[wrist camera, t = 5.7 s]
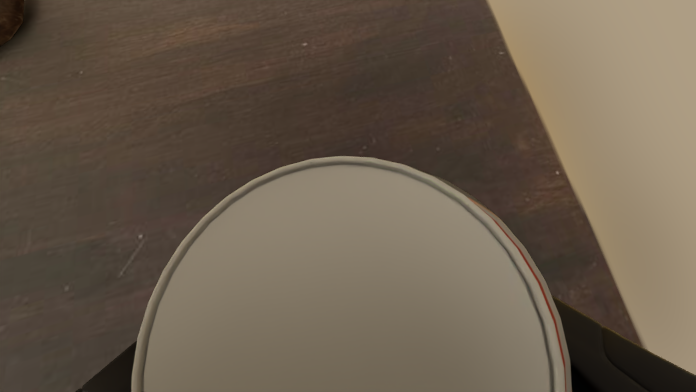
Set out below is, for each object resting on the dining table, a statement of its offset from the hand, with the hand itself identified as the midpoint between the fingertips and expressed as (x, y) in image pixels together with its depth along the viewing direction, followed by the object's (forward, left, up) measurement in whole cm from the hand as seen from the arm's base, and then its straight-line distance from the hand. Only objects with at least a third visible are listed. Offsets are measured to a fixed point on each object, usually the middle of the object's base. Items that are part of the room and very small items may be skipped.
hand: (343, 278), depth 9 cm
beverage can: (-2, 0, -7) cm, 7 cm away
